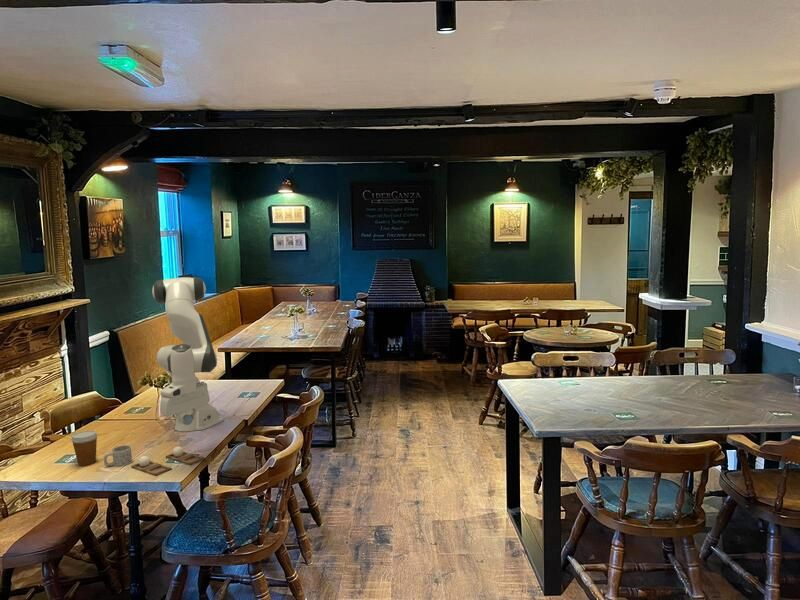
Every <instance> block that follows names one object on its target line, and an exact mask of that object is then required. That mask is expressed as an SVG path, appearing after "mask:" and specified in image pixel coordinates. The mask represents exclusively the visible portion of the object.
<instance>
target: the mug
mask: <svg viewBox="0 0 800 600" xmlns="http://www.w3.org/2000/svg"><path fill="white" fill-rule="evenodd" d="M110 456H111V457H112V458H113V459H112V462H110V463H109V462H108V460H107V459H108V457H110ZM103 462H104V463H103V464H104V466H105V467H113V466H114V467H124V466H127V465H130V464H132V463H133V457H132V447H131V446H130V445H119V446H115V447H114V448H112V450H111V451H110V452H108V453H106V454H105V455H104V456H103Z"/></svg>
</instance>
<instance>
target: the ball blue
mask: <svg viewBox="0 0 800 600" xmlns="http://www.w3.org/2000/svg"><path fill="white" fill-rule="evenodd" d="M183 418H184V423H183V424H185V425H189V424H191V423H192V421H193V418H192V416H191V415H184V416H183Z"/></svg>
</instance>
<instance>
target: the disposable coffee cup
mask: <svg viewBox="0 0 800 600" xmlns="http://www.w3.org/2000/svg"><path fill="white" fill-rule="evenodd" d="M98 436H99V434H98V433H97V431H95V430H90V429H89V430H83V431H78V432H76V433H74V434H72V436H71V438H70V441H71V443H72V445H73V449H74V453H75V454H74V455H75V457H76V461H77V465H78V466H80V467H86V466H87V467H88V466H91V465H93V464H95V463H96V462H97V446H98V445H97V441H98V440H97V439H98Z"/></svg>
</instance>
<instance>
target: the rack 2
mask: <svg viewBox="0 0 800 600" xmlns="http://www.w3.org/2000/svg"><path fill="white" fill-rule="evenodd" d="M165 459H168V460H171V461H174V462H177V463H180V464H184V465H187V466H193V465H196V464H198V463H201V462H203V461H205V460H206V457H203V456H201V455H197V454H193V453H190V452H187V451H184V450H183V454H182V455H181V456H180V457H176V456H174V455H173V453H170V454H169V455H168V454H167V455H165Z"/></svg>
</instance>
